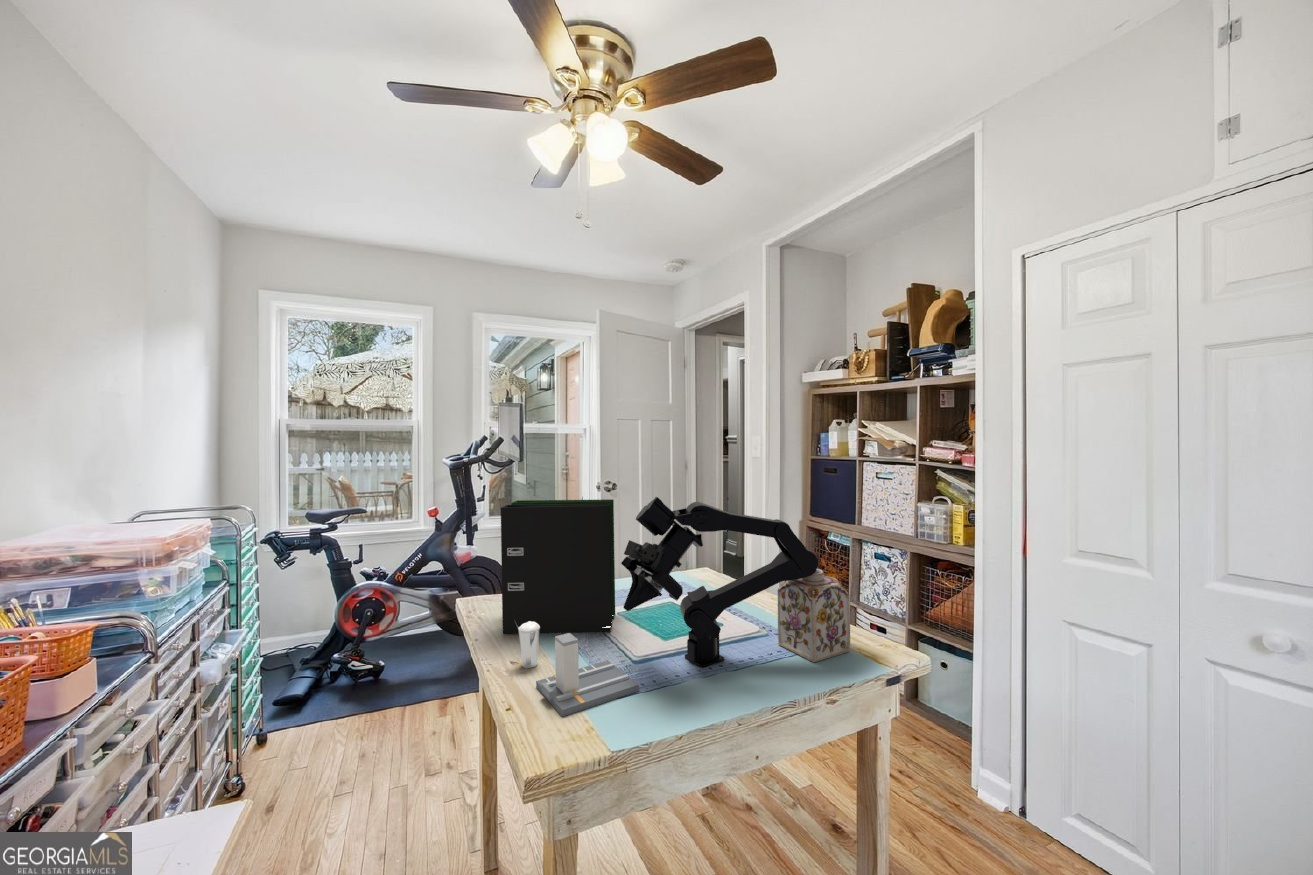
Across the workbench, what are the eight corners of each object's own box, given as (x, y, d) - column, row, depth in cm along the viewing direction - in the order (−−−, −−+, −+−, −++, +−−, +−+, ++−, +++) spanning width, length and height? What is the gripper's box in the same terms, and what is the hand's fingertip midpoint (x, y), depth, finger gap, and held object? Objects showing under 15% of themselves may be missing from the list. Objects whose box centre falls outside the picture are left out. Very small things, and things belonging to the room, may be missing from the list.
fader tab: (570, 681, 100) (569, 632, 100) (578, 689, 97) (578, 639, 97) (555, 685, 99) (555, 636, 99) (564, 694, 95) (563, 643, 95)
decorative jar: (852, 652, 115) (851, 572, 115) (814, 664, 109) (813, 580, 109) (812, 634, 126) (811, 561, 125) (776, 644, 120) (775, 568, 120)
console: (607, 665, 110) (607, 653, 110) (639, 690, 99) (639, 676, 99) (533, 687, 101) (533, 674, 101) (559, 717, 90) (559, 702, 90)
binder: (615, 613, 142) (613, 499, 142) (610, 634, 128) (608, 506, 127) (518, 614, 143) (516, 500, 142) (501, 635, 128) (499, 508, 128)
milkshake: (517, 661, 113) (516, 616, 113) (541, 659, 114) (541, 614, 114) (513, 670, 109) (512, 623, 109) (538, 669, 109) (538, 622, 109)
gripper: (628, 520, 117) (583, 575, 112) (668, 533, 100) (617, 599, 95) (659, 550, 120) (617, 605, 115) (702, 568, 104) (655, 633, 99)
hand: (625, 609), depth 106 cm, fingers closed
